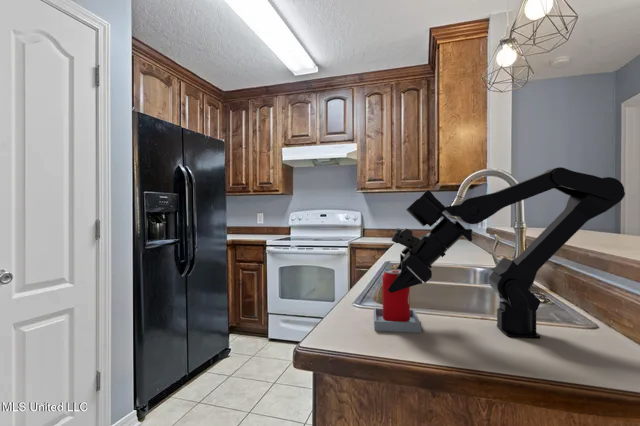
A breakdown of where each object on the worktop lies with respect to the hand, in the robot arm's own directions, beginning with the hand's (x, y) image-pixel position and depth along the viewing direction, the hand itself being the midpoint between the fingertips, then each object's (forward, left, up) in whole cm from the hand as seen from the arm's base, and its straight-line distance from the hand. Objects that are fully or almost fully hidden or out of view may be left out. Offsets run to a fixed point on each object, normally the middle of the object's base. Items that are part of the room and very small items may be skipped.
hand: (389, 286), depth 77 cm
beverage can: (-2, 0, -8) cm, 8 cm away
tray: (-1, 0, -9) cm, 9 cm away
